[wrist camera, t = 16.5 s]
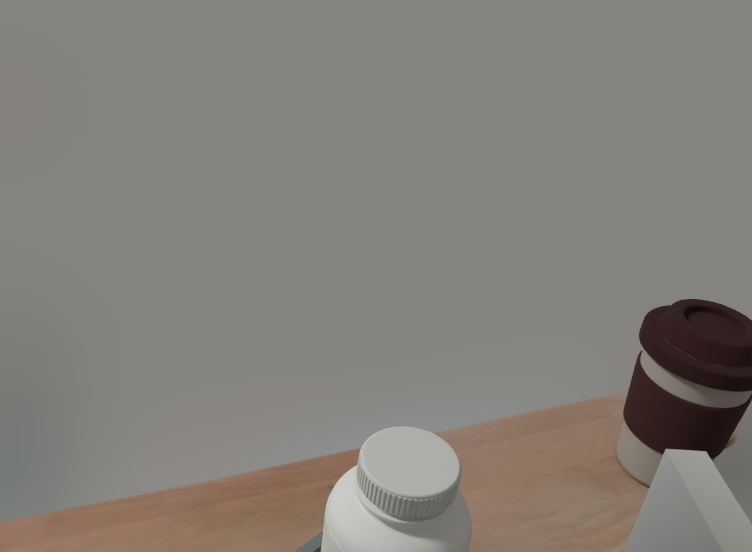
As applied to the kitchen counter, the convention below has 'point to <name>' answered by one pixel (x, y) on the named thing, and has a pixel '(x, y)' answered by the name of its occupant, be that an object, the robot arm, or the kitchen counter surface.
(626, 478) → the kitchen counter surface
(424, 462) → the pill bottle
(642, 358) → the coffee cup
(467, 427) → the kitchen counter surface
